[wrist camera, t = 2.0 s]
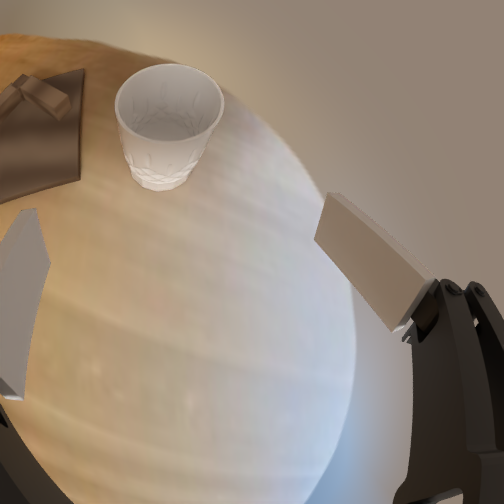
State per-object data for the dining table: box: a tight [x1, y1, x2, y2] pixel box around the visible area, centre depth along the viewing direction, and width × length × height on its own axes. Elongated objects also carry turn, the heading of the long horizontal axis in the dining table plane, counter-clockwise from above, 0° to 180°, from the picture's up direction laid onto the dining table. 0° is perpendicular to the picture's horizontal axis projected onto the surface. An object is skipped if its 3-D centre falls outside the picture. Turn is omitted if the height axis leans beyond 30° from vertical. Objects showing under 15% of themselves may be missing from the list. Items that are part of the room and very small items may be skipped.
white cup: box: [115, 64, 224, 191], centre depth 21 cm, size 8×8×10 cm
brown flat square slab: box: [0, 69, 85, 204], centre depth 18 cm, size 16×16×3 cm
